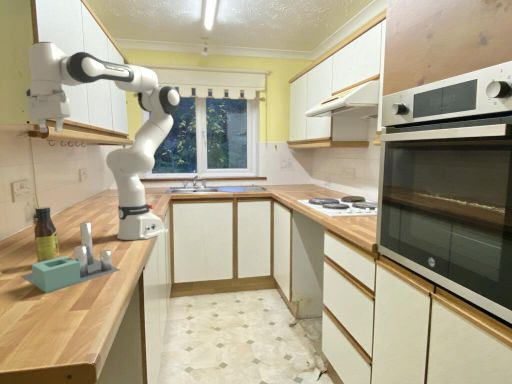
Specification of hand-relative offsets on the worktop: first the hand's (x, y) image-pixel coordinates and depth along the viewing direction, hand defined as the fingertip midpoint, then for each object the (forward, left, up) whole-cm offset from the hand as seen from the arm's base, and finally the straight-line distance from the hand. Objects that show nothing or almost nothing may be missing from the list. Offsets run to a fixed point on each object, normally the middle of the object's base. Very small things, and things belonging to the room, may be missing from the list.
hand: (51, 132), depth 113 cm
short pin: (-2, +29, -44) cm, 53 cm away
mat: (+6, +23, -45) cm, 51 cm away
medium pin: (+5, +28, -44) cm, 53 cm away
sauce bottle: (+7, +8, -45) cm, 46 cm away
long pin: (-1, +19, -44) cm, 48 cm away
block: (+12, +28, -44) cm, 54 cm away
